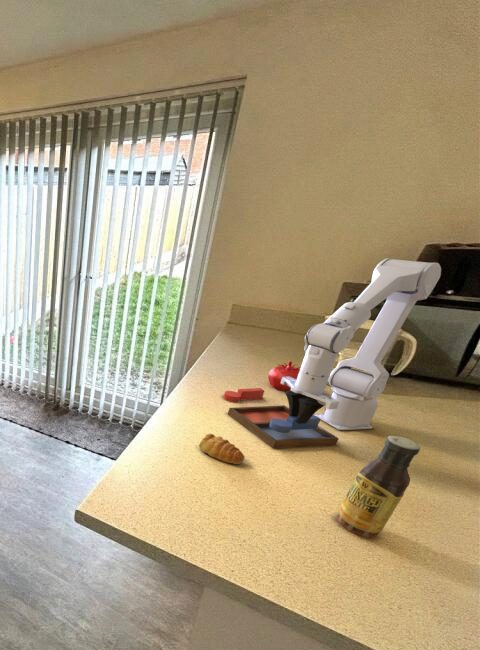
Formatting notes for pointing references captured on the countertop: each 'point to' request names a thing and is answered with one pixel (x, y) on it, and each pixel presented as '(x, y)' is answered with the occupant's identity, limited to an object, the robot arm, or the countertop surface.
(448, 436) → the countertop surface
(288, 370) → the pomegranate
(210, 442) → the pastry
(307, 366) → the robot arm
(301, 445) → the sorting tray
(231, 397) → the red spoon
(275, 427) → the blue spoon
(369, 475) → the sauce bottle
